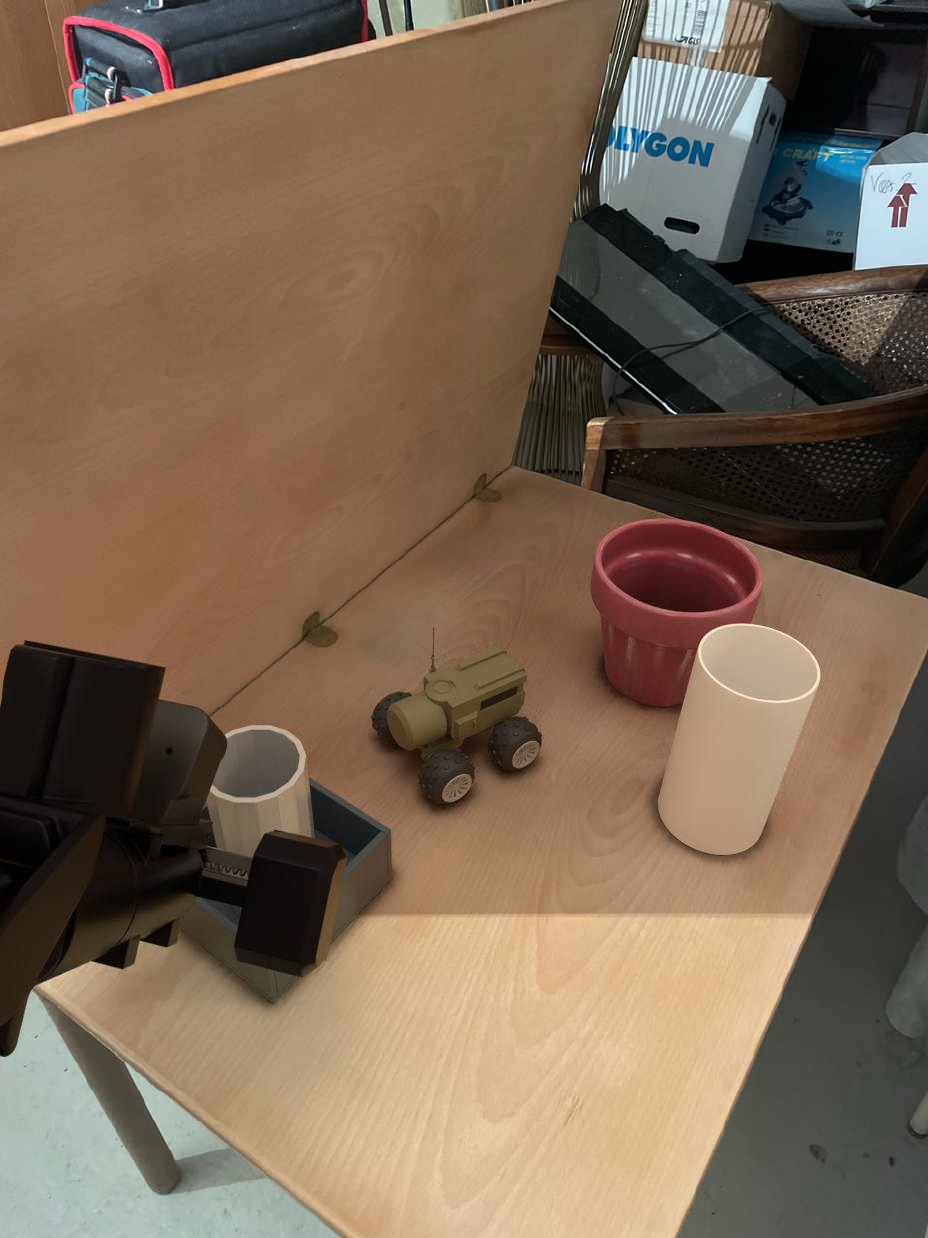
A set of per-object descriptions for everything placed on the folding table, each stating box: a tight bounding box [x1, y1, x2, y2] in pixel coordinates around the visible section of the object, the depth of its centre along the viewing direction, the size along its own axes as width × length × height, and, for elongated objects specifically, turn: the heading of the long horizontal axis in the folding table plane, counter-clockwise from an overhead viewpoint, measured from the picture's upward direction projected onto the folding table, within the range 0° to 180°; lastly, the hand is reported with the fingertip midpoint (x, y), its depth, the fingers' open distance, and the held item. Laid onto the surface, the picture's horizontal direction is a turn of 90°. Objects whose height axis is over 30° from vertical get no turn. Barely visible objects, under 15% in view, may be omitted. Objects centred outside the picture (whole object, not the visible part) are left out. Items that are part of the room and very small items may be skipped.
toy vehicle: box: [370, 627, 543, 805], centre depth 72 cm, size 10×11×12 cm
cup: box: [657, 623, 821, 856], centre depth 66 cm, size 8×8×16 cm
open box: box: [180, 776, 393, 1004], centre depth 63 cm, size 12×12×6 cm
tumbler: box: [206, 724, 315, 917], centre depth 60 cm, size 6×6×13 cm
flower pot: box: [590, 518, 764, 707], centre depth 80 cm, size 14×14×13 cm
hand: (222, 850), depth 54 cm, fingers open, 9 cm apart
